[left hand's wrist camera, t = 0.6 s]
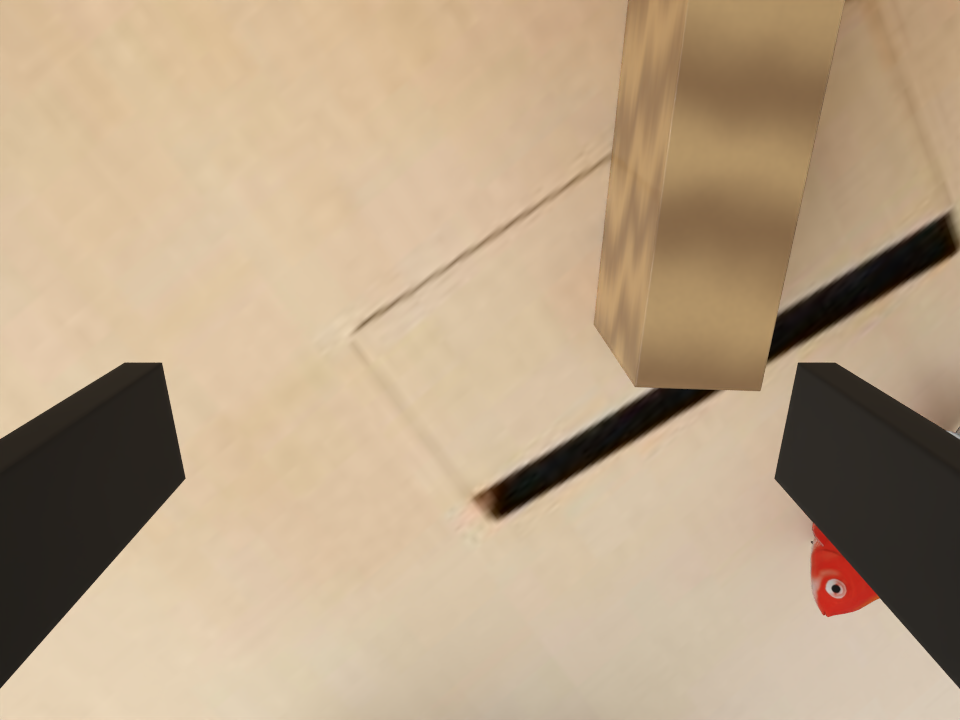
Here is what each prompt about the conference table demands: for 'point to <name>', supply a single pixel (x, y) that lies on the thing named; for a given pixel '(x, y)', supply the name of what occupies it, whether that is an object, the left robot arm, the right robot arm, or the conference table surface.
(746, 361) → the bar
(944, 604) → the left robot arm
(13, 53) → the conference table surface
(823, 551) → the fish
